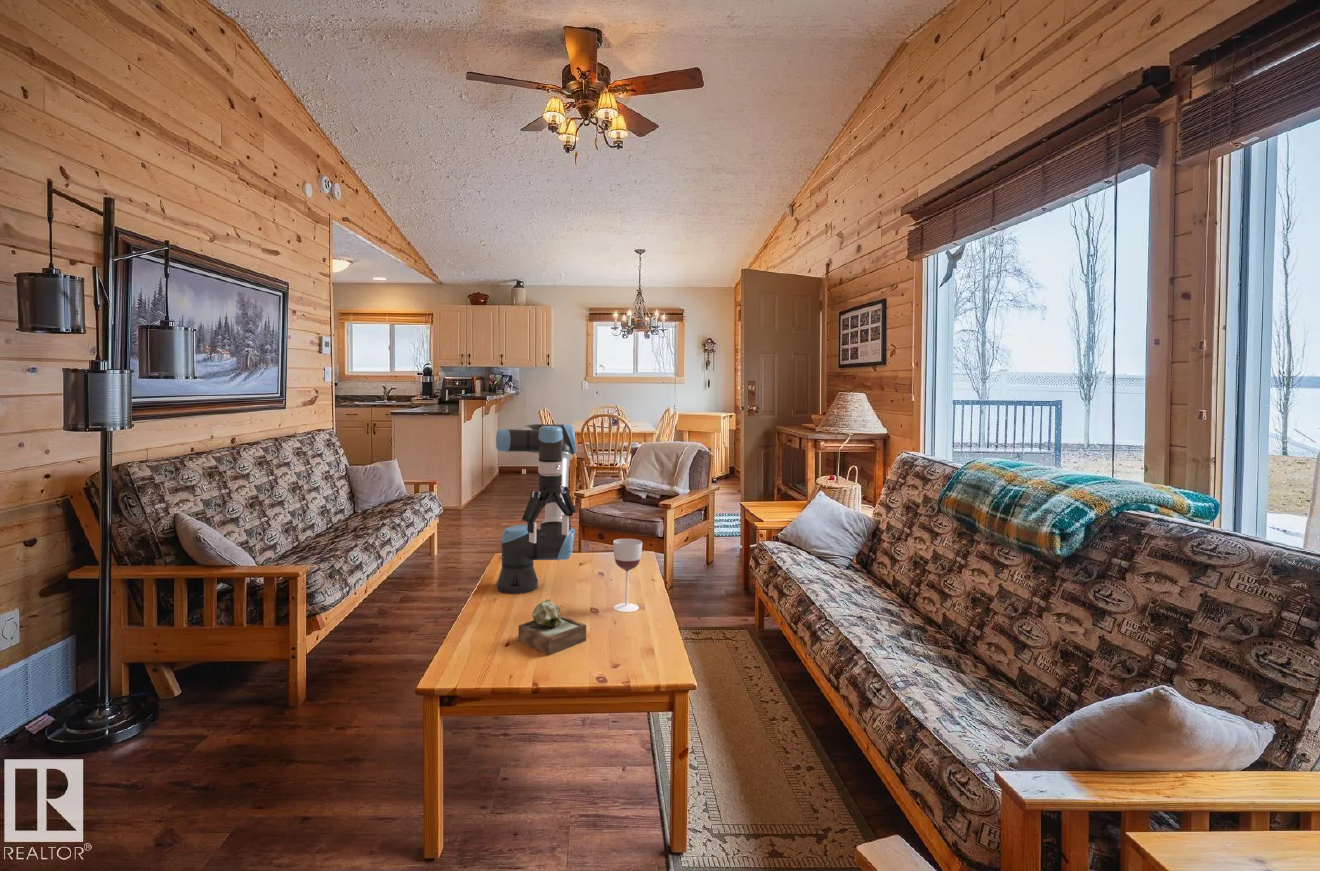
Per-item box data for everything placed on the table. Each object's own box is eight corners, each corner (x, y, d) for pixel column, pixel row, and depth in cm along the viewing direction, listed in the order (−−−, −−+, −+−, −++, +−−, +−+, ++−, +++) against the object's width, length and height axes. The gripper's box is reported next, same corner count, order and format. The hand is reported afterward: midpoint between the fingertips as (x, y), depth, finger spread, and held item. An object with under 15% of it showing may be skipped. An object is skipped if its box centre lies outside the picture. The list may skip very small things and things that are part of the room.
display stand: (518, 641, 179) (518, 625, 178) (555, 628, 189) (555, 613, 189) (549, 655, 170) (549, 638, 169) (586, 640, 180) (586, 624, 180)
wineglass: (637, 613, 204) (638, 545, 203) (608, 610, 206) (610, 543, 205) (643, 604, 213) (645, 539, 211) (615, 601, 215) (617, 537, 213)
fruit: (536, 622, 185) (541, 596, 186) (565, 629, 183) (569, 602, 184) (523, 628, 176) (528, 600, 177) (553, 634, 174) (558, 606, 175)
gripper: (526, 479, 184) (525, 548, 186) (586, 471, 203) (585, 533, 205) (511, 476, 189) (510, 543, 191) (571, 469, 208) (570, 529, 210)
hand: (549, 538), depth 198 cm, fingers open, 13 cm apart
